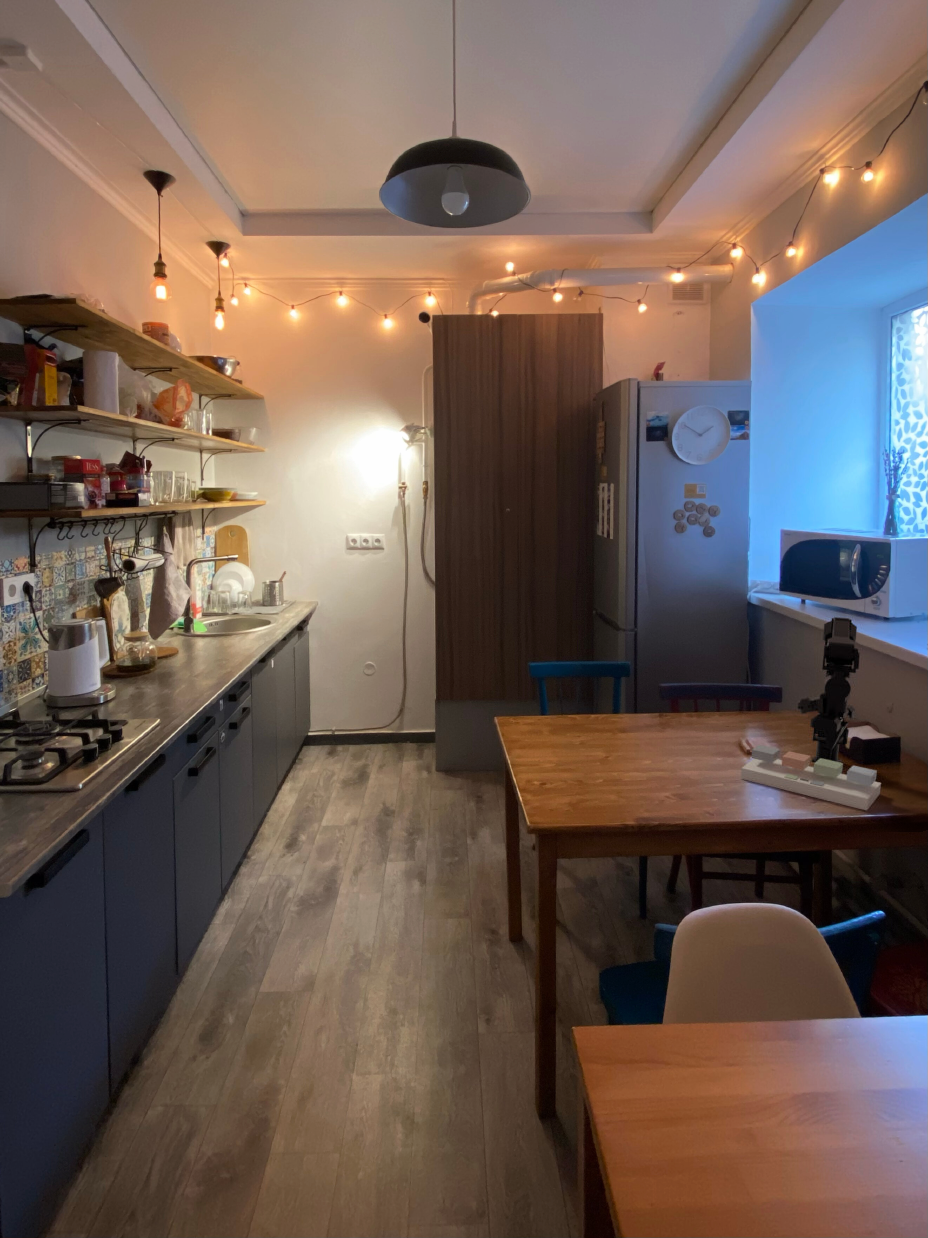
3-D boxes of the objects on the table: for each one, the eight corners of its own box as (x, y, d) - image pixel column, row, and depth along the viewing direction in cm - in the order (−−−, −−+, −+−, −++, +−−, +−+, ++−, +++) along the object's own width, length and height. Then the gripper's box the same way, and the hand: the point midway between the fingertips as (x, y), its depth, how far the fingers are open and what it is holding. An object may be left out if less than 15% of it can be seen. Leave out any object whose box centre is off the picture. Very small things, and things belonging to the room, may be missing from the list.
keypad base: (758, 765, 219) (759, 754, 219) (879, 794, 200) (881, 782, 199) (740, 778, 209) (741, 767, 208) (866, 810, 189) (868, 798, 189)
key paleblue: (852, 774, 201) (853, 765, 200) (875, 779, 197) (876, 770, 197) (846, 780, 196) (847, 771, 196) (870, 786, 193) (871, 776, 192)
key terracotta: (788, 759, 211) (789, 751, 210) (809, 764, 207) (810, 756, 207) (781, 765, 206) (782, 756, 206) (803, 770, 203) (804, 761, 202)
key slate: (758, 752, 216) (759, 744, 215) (779, 757, 212) (780, 749, 212) (751, 758, 211) (752, 749, 211) (772, 762, 208) (773, 754, 207)
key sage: (819, 766, 206) (820, 758, 205) (842, 772, 202) (843, 763, 202) (813, 772, 201) (814, 763, 201) (836, 777, 198) (837, 768, 197)
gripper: (813, 678, 210) (808, 733, 213) (792, 691, 196) (786, 750, 199) (858, 685, 203) (852, 742, 206) (839, 699, 189) (832, 760, 192)
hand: (830, 748), depth 201 cm, fingers closed
